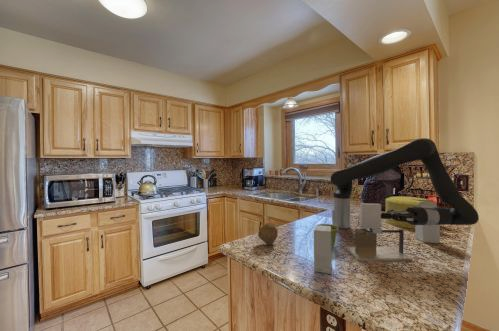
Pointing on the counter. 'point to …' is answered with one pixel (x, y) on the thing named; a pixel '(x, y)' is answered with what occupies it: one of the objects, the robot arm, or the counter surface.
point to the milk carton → (428, 228)
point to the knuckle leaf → (371, 217)
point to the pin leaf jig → (369, 251)
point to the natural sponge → (268, 233)
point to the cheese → (402, 207)
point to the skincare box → (322, 249)
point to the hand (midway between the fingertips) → (380, 215)
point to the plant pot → (332, 233)
